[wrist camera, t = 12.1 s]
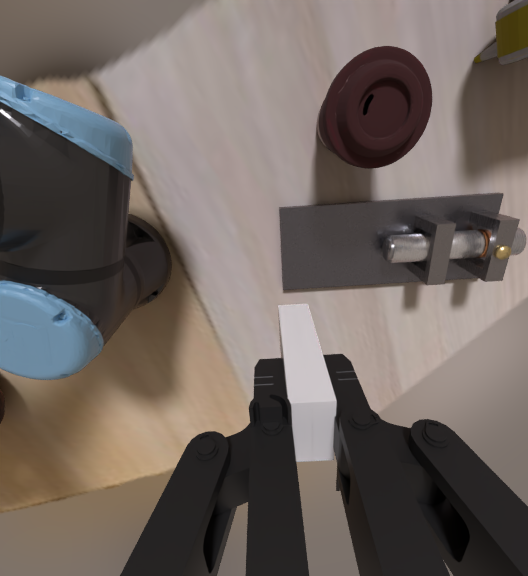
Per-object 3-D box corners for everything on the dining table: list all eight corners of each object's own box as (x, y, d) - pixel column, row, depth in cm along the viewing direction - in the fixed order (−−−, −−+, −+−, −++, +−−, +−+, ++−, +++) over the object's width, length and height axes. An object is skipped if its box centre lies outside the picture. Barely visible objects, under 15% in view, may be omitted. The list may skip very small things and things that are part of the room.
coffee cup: (394, 129, 41) (460, 120, 27) (332, 178, 43) (364, 191, 30) (356, 58, 38) (409, 7, 24) (291, 115, 40) (306, 98, 27)
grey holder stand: (282, 287, 50) (286, 309, 43) (279, 207, 45) (282, 218, 38) (478, 275, 50) (513, 295, 43) (498, 192, 44) (542, 200, 37)
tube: (380, 258, 47) (390, 267, 44) (382, 232, 46) (393, 239, 42) (500, 250, 47) (521, 259, 43) (508, 224, 45) (530, 230, 41)
